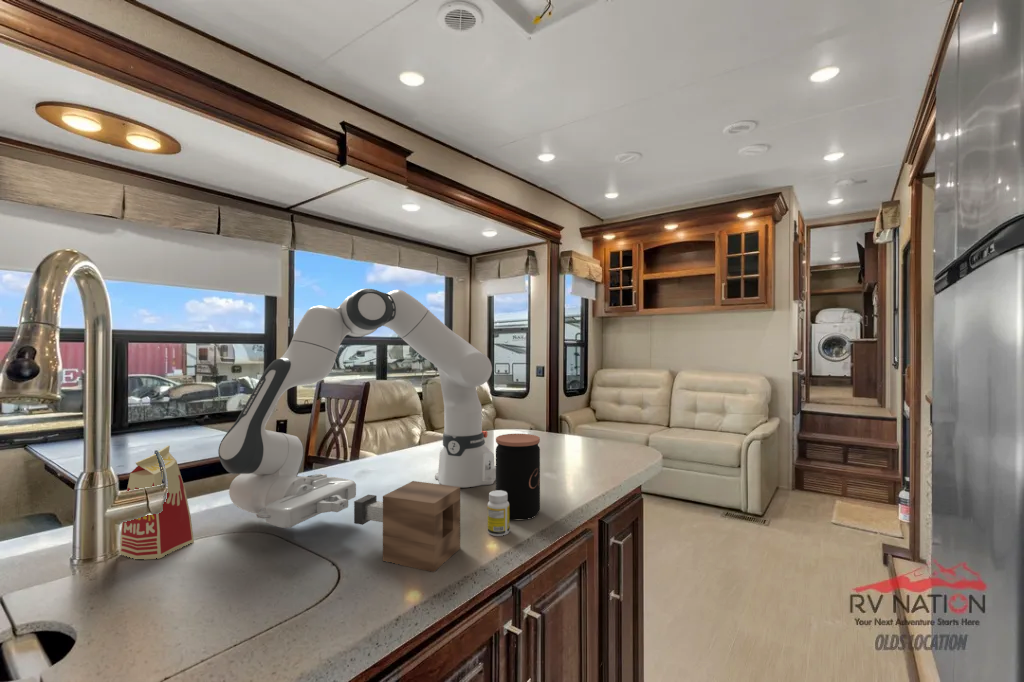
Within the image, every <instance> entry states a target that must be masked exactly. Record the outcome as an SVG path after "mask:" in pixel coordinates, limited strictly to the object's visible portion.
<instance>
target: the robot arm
mask: <svg viewBox="0 0 1024 682" xmlns="http://www.w3.org/2000/svg"><path fill="white" fill-rule="evenodd" d="M381 327H385V328H388V329H390V330H391V331H393V332H394V333H395V334H396V335H397V336H398V337H399V338H400V339H401V340H403V341H404V343H406V344H407V345H408V346H410V348H412V349H413V350H414V351H415V352H416V353H417V354H418V355H420V356H421V357H422V358H424V359H425V360H427V361H428V362H430V363H431V364H433V365H434V366H435V367H437V368H436V369H437V372H438V375H439V380H440V381H439V382H440V388H441V389H440V390H441V394H442V399H443V411H444V412H443V414H444V416H443V417H444V426H443V427H444V431H443V433H442V446H443V448H442V449H440V451H439V458H438V469H437V470H438V472H437V473H435V474H434V479H436V480H437V481H438V484H441V485H449V486H457V487H460V488H470V487H471V488H472V487H478V486H487V485H488V486H489V485H493V484H494V483H495V482H496V465H495V454H494V452H493V451H492V450H490V448H489V447H488V446H487V445H486V441H485V439H487V438H488V431H487V430H483V429H482V428H483V423H482V421H483V419H482V418H483V413H482V412H483V407H482V403H481V401H480V399H479V395H478V391H477V387H481V386H483V385H484V384H486V383H487V382H488V381H489V380H490V378H491V376H492V371H493V367H492V362H491V359H490V358H489V357H488V356H487V355H486V354H484V353H482V352H481V351H480V350H478V349H477V348H476V347H474V345H472V344H471V343H470V342H468V341H467V340H466V339H464V338H463V337H461V336H460V335H459V334H457V333H456V332H454V331H453V330H451V328H449V327H448V326H447V325H445V323H444V322H443V321H441V320H440V319H439V318H438V316H436V315H435V314H434V313H432V311H430V310H429V309H428V308H427V307H426V305H424V304H422V303H421V302H420V301H419V300H417V299H416V298H415V297H413V296H412V295H410V294H409V293H407V292H406V291H405V290H402V289H393V290H391V291H389V292H387V293H386V292H382V291H379V290H377V289H375V288H362V289H358V290H356V291H354V292H352V294H350V295H348V296H347V297H346V298H345V299H344V300H343V301H342V303H340V305H338V307H336V308H333V307H330V306H326V305H315V306H312V307H309V309H307V310H306V312H305V313H304V315H303V316H302V318H301V320H300V322H299V323H298V325H297V328H296V330H295V332H294V333H293V336H292V339H291V341H290V343H289V346H288V347H287V349H286V351H284V352H285V353H284V354H282V356H281V357H280V358H276V359H274V360H273V361H272V362H270V364H269V365H268V366H267V368H266V369H265V370H264V371H263V373H262V375H261V376H260V377H259V378H260V379H259V380H258V381H257V384H256V385H255V387H254V389H253V390H252V393H251V394H250V396H249V397H248V400H247V401H246V403H245V405H244V407H243V409H242V410H241V412H240V414H239V415H238V418H237V419H236V420H235V422H234V423H233V425H232V426H231V427H230V429H228V431H227V432H226V433H225V435H224V436H223V438H222V440H221V441H220V444H219V446H218V449H217V452H218V458H219V461H220V463H221V465H222V467H223V468H224V469H225V470H226V472H228V473H230V474H233V475H235V474H238V475H237V476H235V478H234V479H232V481H231V483H230V486H229V489H228V490H229V491H228V492H229V493H228V495H229V498H230V500H231V502H232V504H233V505H234V506H235V507H237V508H238V509H241V510H242V511H245V512H247V513H251V514H255V515H256V517H257V518H259V519H264V520H265V521H266V523H267V524H269V525H271V526H274V527H278V528H282V529H287V528H288V529H289V528H293V527H294V526H296V525H299V524H301V523H303V522H305V521H307V520H309V519H311V518H314V517H316V516H317V515H320V514H323V513H324V514H325V513H330V512H331V513H339V512H341V511H343V510H346V509H347V508H348V507H349V500H352V499H354V498H356V495H357V484H356V482H355V481H354V480H352V479H347V478H343V477H335V476H328V475H327V474H326V473H316V474H312V475H306V476H304V475H301V476H300V475H299V473H300V470H301V468H302V466H303V462H304V458H305V447H304V444H303V441H302V440H301V439H300V438H299V437H298V436H296V435H292V434H289V433H284V432H277V431H273V430H269V429H266V426H267V423H268V422H269V419H270V417H271V416H272V414H273V412H274V411H275V409H276V407H277V404H278V403H279V400H280V398H281V397H282V396H283V394H284V393H285V392H286V391H288V390H289V389H291V388H293V387H299V386H304V385H312V384H316V383H318V382H321V381H323V380H324V379H325V378H326V377H328V376H329V374H331V372H332V369H333V367H334V365H335V362H336V359H337V356H338V353H339V349H340V346H341V344H342V342H343V340H344V339H361V338H364V337H366V336H368V335H371V334H373V333H374V332H376V331H377V330H378V329H380V328H381Z"/></svg>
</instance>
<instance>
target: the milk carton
mask: <svg viewBox="0 0 1024 682" xmlns="http://www.w3.org/2000/svg"><path fill="white" fill-rule="evenodd" d="M157 452H159V453H160V455H161V456H162V458H163V460H164V463H165V468H166V472H167V479H168V493H167V499H166V502H164V504H163V511H162V512H161V513H159V514H153V515H147V516H144V517H141V518H138V519H134V520H131V521H127V522H123V523H122V522H121V527H120V538H119V539H120V543H119V545H120V546H119V555H120V554H122V555H121V556H123V555H124V556H123V557H126V556H127V557H126V558H129V557H130V558H129V559H132V558H134V559H133V560H135V559H144V560H155V559H156V558H157V559H162V558H164V557H166V556H167V554H168V555H169V554H171V553H173V552H175V550H176V551H177V549H178V550H180V549H182V547H183V546H185V547H187V546H189V545H188V544H190V543H192V544H194V543H195V539H194V531H193V524H192V517H191V516H192V515H191V511H190V506H189V500H188V497H187V492H186V487H185V484H184V481H183V478H182V475H181V474H182V473H181V471H180V468H179V465H178V461H177V459H176V458H175V457H174V456H173V455H172V454H171V452H170V445H166V446H164V447H163V448H162V449H160V450H159V451H157ZM135 465H137V466H136V467H135V468H134V469H133V470H132V471H131V472H130V474H129V479H128V482H127V483H128V484H127V488H126V492H127V491H129V490H134V489H139V488H145V487H152V486H157V485H161V484H163V483H162V479H163V472H162V477H161V471H160V467H159V463H158V459H157V456H156V454H155V453H154V454H152V455H150V456H148V457H146V458H143V459H141V460H138V461H136V462H135ZM163 468H164V467H163ZM161 469H162V467H161ZM162 471H163V470H162ZM193 542H194V543H193ZM186 545H187V546H186ZM190 545H191V544H190ZM179 548H180V549H179ZM183 548H184V547H183ZM172 551H173V552H172ZM165 555H166V556H165Z"/></svg>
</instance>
